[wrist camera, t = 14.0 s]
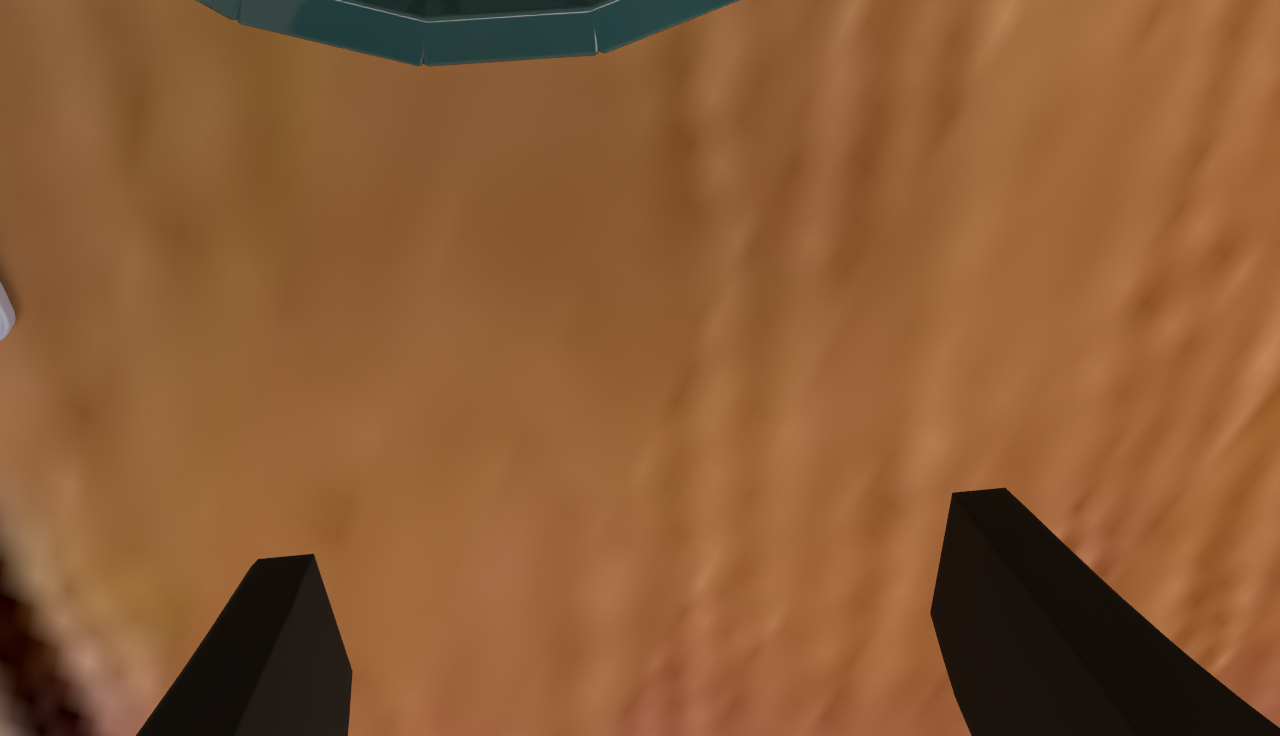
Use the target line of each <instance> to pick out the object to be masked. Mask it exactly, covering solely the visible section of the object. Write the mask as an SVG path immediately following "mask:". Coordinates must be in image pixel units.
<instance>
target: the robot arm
mask: <svg viewBox="0 0 1280 736" xmlns="http://www.w3.org/2000/svg"><path fill="white" fill-rule="evenodd" d="M15 320H16V317H15V313H14V309H13V307H12V305H11V303H10V301H9V298H8V296H7V294H6V292H5V290H4V288H3V286H2V284H1V281H0V341H1V340H2V339H3V338H4V337H6V336H7V335H8V333H9V332H10V330H11V329H12V328H13V326H14V323H15ZM930 614H931V617H932V621H933V624H934V628H935V631H936V635H937V638H938V642H939V645H940V649H941V652H942V656H943V659H944V663H945V666H946V669H947V672H948V676H949V679H950V682H951V685H952V688H953V692H954V695H955V698H956V700H957V702H958V705H959V707H960V710H961V712H962V714H963V717H964V719H965V721H966V724H967V726H968V728H969V731H970V733H971V735H972V736H1280V728H1279V727H1278V726H1276V725H1275V724H1274V723H1272V722H1271V721H1270V720H1268V719H1267V718H1266V717H1264V716H1263V715H1262V714H1260V713H1259V712H1258V711H1256V710H1255V709H1254V708H1252V707H1251V706H1250V705H1248V704H1247V703H1246V702H1245V701H1243V700H1242V699H1241V698H1240V697H1238V696H1237V695H1236V694H1235V693H1233V692H1232V691H1231V690H1230V689H1228V688H1227V687H1226V686H1225V685H1223V684H1222V683H1221V682H1220V681H1218V680H1217V679H1216V678H1215V677H1213V676H1212V675H1211V674H1210V673H1208V672H1207V671H1206V670H1205V669H1204V668H1202V667H1201V666H1200V665H1199V664H1197V663H1196V662H1195V661H1194V660H1193V659H1191V658H1190V657H1189V656H1188V655H1187V654H1186V653H1184V652H1183V651H1182V650H1181V649H1180V648H1178V647H1177V646H1176V645H1175V644H1174V643H1173V642H1171V641H1170V640H1169V639H1168V638H1167V637H1166V636H1164V635H1163V634H1162V633H1161V632H1160V631H1159V630H1158V629H1157V628H1155V627H1154V626H1153V625H1152V624H1151V623H1150V622H1149V621H1148V620H1146V619H1145V618H1144V617H1143V616H1142V615H1141V614H1140V613H1139V612H1137V611H1136V610H1135V609H1134V608H1133V607H1132V606H1131V605H1130V604H1128V603H1127V602H1126V601H1125V600H1124V599H1123V598H1122V597H1121V596H1119V595H1118V594H1117V593H1116V592H1115V591H1114V590H1113V589H1112V588H1111V587H1110V586H1109V585H1107V584H1106V583H1105V582H1104V581H1103V580H1102V579H1101V578H1100V577H1099V576H1098V575H1097V574H1096V573H1095V572H1093V571H1092V570H1091V569H1090V568H1089V567H1088V566H1087V565H1086V564H1085V563H1084V562H1083V561H1082V560H1081V559H1080V558H1079V557H1078V556H1076V555H1075V554H1074V553H1073V552H1072V551H1071V550H1070V549H1069V548H1068V547H1067V546H1066V545H1065V544H1064V543H1063V542H1062V541H1061V540H1060V539H1059V538H1058V537H1056V536H1055V535H1054V534H1053V533H1052V532H1051V531H1050V530H1049V529H1048V528H1047V527H1046V526H1045V525H1044V524H1043V523H1042V522H1041V521H1040V520H1039V519H1038V518H1037V517H1036V516H1035V515H1033V514H1032V513H1031V512H1030V511H1029V510H1028V509H1027V508H1026V507H1025V506H1024V505H1023V504H1022V503H1021V502H1020V501H1019V500H1018V499H1017V498H1015V497H1014V496H1013V495H1012V494H1011V493H1010V492H1009V491H1008V490H1007V489H1006V488H998V489H987V490H977V491H966V492H956V493H952V498H951V503H950V509H949V514H948V520H947V525H946V531H945V536H944V541H943V547H942V552H941V558H940V563H939V569H938V574H937V579H936V585H935V590H934V596H933V601H932V607H931V612H930ZM351 684H352V669H351V666H350V663H349V660H348V657H347V654H346V651H345V647H344V644H343V641H342V638H341V635H340V632H339V629H338V626H337V623H336V620H335V617H334V614H333V611H332V608H331V605H330V602H329V599H328V596H327V593H326V590H325V587H324V584H323V581H322V578H321V575H320V572H319V569H318V566H317V563H316V560H315V556H314V554H308V555H297V556H287V557H276V558H266V559H258V560H257V561H256V562H255V563H254V564H253V565H252V566H251V568H250V569H249V571H248V572H247V574H246V575H245V577H244V578H243V580H242V581H241V583H240V584H239V586H238V588H237V589H236V591H235V592H234V594H233V595H232V597H231V598H230V600H229V601H228V603H227V604H226V606H225V608H224V609H223V611H222V612H221V614H220V615H219V617H218V618H217V620H216V621H215V623H214V624H213V626H212V627H211V629H210V630H209V632H208V633H207V635H206V636H205V638H204V639H203V641H202V642H201V644H200V645H199V647H198V648H197V650H196V651H195V653H194V654H193V656H192V657H191V659H190V660H189V662H188V663H187V664H186V666H185V667H184V669H183V670H182V672H181V673H180V675H179V676H178V677H177V679H176V680H175V682H174V683H173V684H172V686H171V687H170V689H169V690H168V691H167V693H166V694H165V696H164V697H163V698H162V700H161V701H160V703H159V704H158V705H157V707H156V708H155V710H154V711H153V713H152V714H151V715H150V717H149V718H148V720H147V721H146V722H145V724H144V725H143V727H142V728H141V729H140V731H139V732H138V733H137V735H136V736H348V726H349V713H350V699H351Z"/></svg>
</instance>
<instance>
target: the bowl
mask: <svg viewBox="0 0 1280 736" xmlns="http://www.w3.org/2000/svg"><path fill="white" fill-rule="evenodd" d="M196 1H198V2H200V3H202V4H204V5H205V6H207V7H209V8H211V9H213V10H214V11H216V12H218V13H220V14H222V15H224V16H225V17H227V18H229V19H232V20H238V23H240V24H242V25H246V26H250V27H254V28H259V29H263V30H267V31H271V32H276V33H280V34H284V35H288V36H292V37H297V38H301V39H305V40H309V41H314V42H318V43H322V44H326V45H330V46H335V47H339V48H343V49H347V50H352V51H356V52H360V53H364V54H369V55H373V56H377V57H381V58H385V59H390V60H394V61H398V62H402V63H407V64H411V65H415V66H422V65H423V63H424V64H425V65H426V66H444V65H459V64H474V63H489V62H504V61H519V60H534V59H549V58H564V57H579V56H593V55H596V54H598V53H599V51H600V52H601V53H608V52H610V51H613V50H615V49H618V48H620V47H623V46H625V45H628V44H630V43H633V42H635V41H638V40H640V39H643V38H646V37H648V36H651V35H653V34H656V33H658V32H661V31H663V30H666V29H668V28H671V27H673V26H676V25H678V24H681V23H683V22H686V21H689V20H691V19H694V18H696V17H699V16H701V15H704V14H706V13H709V12H711V11H714V10H716V9H719V8H721V7H724V6H726V5H729V4H732V3H734V2H737V1H739V0H196Z"/></svg>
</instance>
